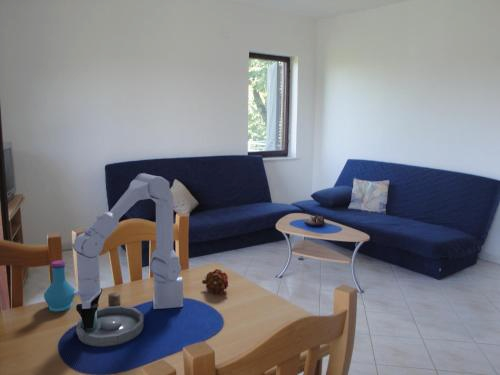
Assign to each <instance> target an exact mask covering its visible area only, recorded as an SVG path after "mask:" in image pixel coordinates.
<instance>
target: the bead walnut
mask: <svg viewBox="0 0 500 375" xmlns="http://www.w3.org/2000/svg"><path fill="white" fill-rule="evenodd" d="M107 298H108V299H107V300H108V301H107V304H108V307H112V306H121V293H119V292H112V293H109V294H108V295H107Z"/></svg>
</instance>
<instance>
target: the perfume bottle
mask: <svg viewBox="0 0 500 375" xmlns="http://www.w3.org/2000/svg"><path fill="white" fill-rule="evenodd" d="M66 264H67V262H66V261H65V260H62V259H59V260H58V259H57V260H54V261H52V262H51V263H50V265H49V266H50V267H51V270H52V282H51V283H50V285H49V286H48V288H46V291H45V292H44V293H43V299H44V301H45V302H46V304H47V306H48V308H49V310H50V311H51V312H62V311H66V310H68V309H70V308H71V307H72V306H73V304H72V303H73V302H74V298H75V296H76V295H74V291H75V290H76V289H75V287H74V286H73V285H71V284H70V283H69V282H68V280H66V268H65V267H66Z"/></svg>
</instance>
